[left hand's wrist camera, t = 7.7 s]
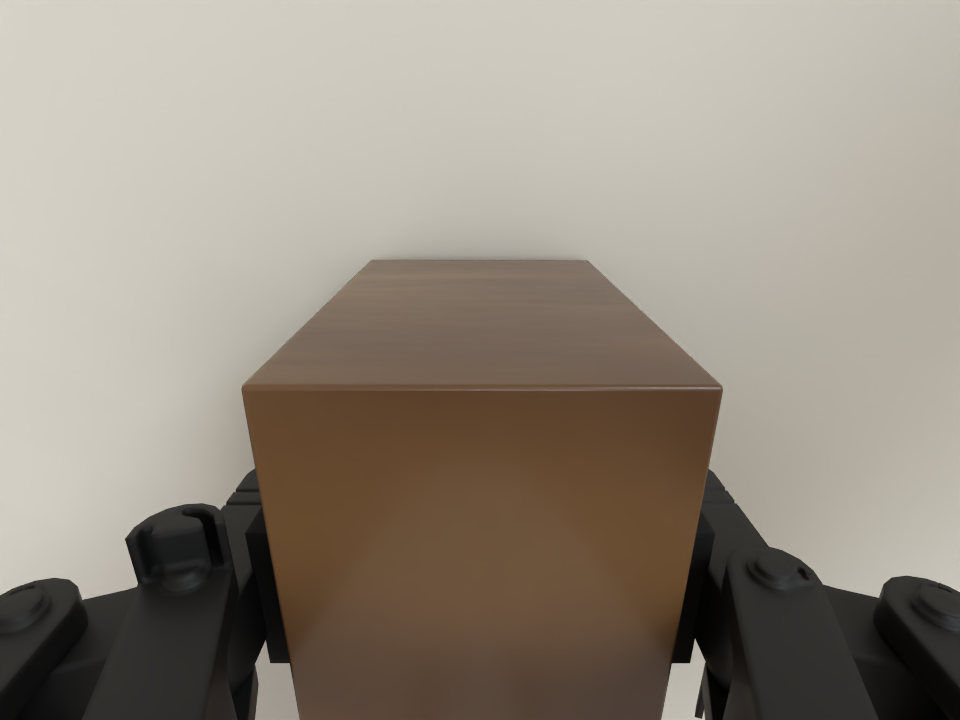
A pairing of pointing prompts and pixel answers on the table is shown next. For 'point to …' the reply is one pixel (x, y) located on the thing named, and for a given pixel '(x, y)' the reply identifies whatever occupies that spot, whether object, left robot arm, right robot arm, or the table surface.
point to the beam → (481, 494)
